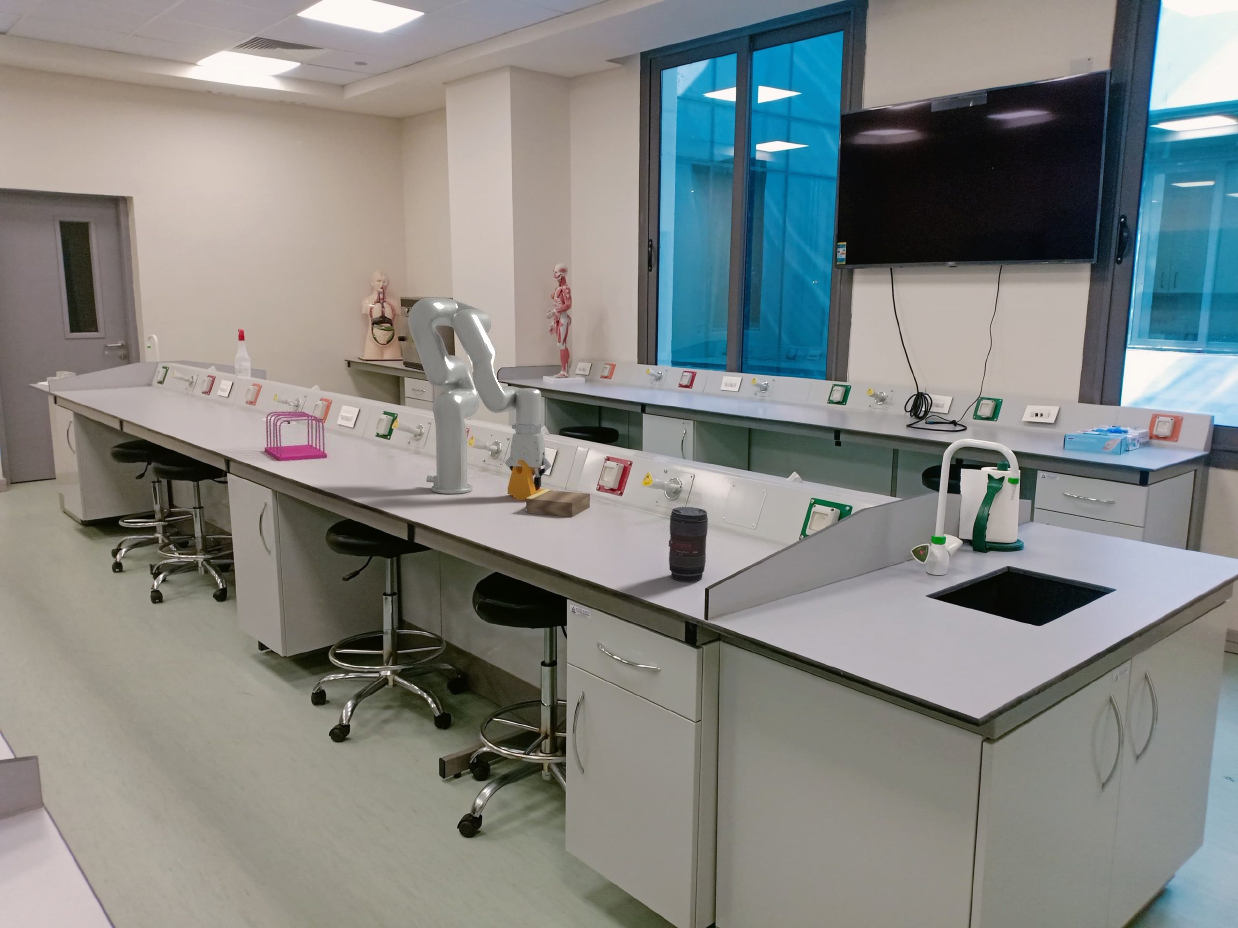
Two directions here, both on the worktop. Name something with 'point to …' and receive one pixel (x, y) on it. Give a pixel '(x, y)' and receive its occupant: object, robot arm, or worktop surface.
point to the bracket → (522, 482)
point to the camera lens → (687, 543)
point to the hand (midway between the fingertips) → (527, 487)
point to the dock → (557, 503)
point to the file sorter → (297, 450)
